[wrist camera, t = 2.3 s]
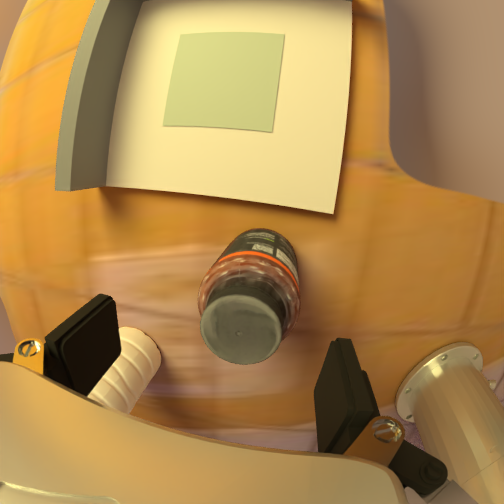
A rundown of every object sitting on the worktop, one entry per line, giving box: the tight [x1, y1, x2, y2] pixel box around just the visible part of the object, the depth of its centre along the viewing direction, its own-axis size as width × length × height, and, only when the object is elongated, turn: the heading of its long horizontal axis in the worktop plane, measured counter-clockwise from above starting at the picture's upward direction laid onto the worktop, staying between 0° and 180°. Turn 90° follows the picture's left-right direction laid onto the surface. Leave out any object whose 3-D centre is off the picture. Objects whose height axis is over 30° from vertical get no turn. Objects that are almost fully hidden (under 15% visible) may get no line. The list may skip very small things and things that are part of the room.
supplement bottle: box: [198, 228, 300, 365], centre depth 18 cm, size 6×6×11 cm
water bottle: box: [87, 327, 161, 414], centre depth 16 cm, size 9×6×25 cm
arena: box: [55, 0, 352, 214], centre depth 16 cm, size 22×22×6 cm
